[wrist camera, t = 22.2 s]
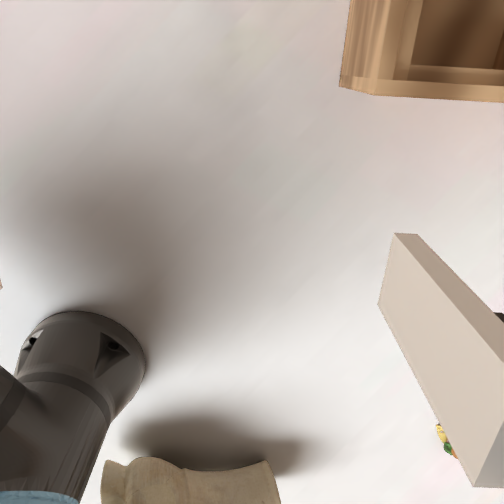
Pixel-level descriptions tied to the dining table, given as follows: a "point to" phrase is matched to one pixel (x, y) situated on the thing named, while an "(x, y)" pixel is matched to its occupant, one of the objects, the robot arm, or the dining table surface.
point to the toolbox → (425, 49)
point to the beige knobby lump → (186, 484)
